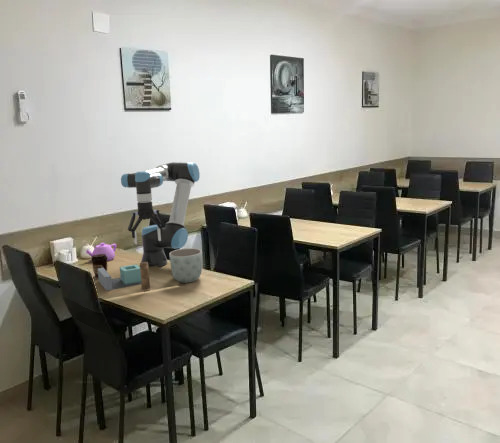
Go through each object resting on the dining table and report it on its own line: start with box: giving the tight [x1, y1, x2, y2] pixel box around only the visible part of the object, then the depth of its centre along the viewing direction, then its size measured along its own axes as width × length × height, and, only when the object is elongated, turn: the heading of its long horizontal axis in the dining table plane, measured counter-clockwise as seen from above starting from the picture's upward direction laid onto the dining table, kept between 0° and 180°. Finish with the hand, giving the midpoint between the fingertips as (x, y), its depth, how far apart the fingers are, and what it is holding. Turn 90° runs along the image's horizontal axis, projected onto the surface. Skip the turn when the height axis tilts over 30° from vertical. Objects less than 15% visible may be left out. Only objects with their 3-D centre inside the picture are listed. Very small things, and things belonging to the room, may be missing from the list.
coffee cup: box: [90, 254, 108, 279], centre depth 262 cm, size 9×8×13 cm
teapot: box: [85, 242, 118, 262], centre depth 301 cm, size 14×20×11 cm
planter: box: [168, 247, 203, 284], centre depth 253 cm, size 17×17×15 cm
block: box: [119, 263, 141, 284], centre depth 252 cm, size 9×9×7 cm
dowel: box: [139, 262, 151, 292], centre depth 240 cm, size 4×4×14 cm
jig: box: [98, 268, 142, 292], centre depth 251 cm, size 21×18×8 cm
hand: (147, 242), depth 254 cm, fingers open, 12 cm apart
